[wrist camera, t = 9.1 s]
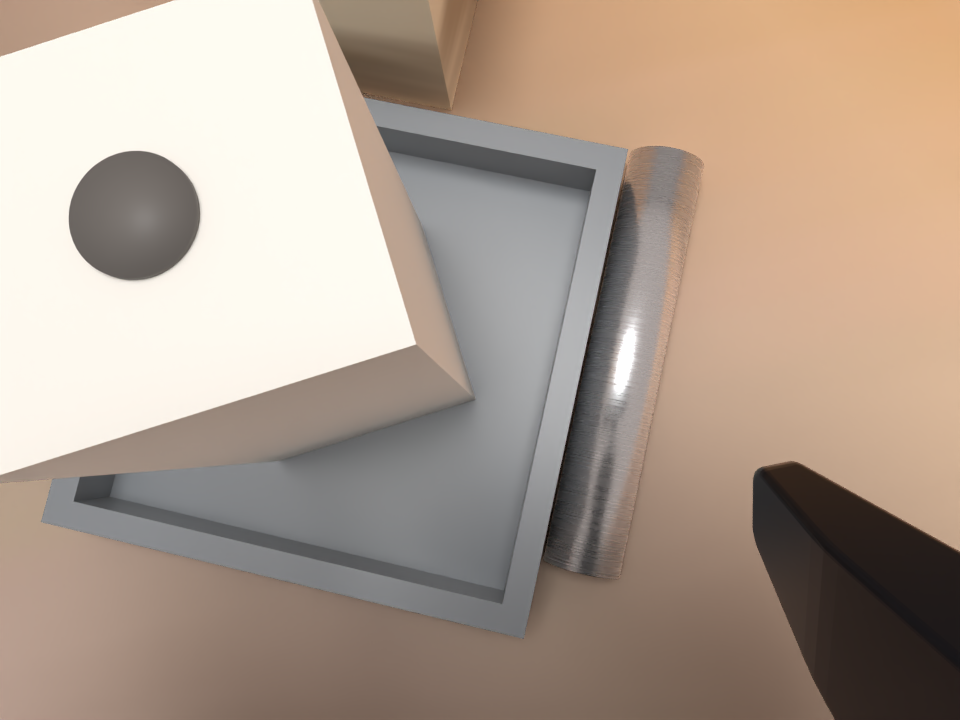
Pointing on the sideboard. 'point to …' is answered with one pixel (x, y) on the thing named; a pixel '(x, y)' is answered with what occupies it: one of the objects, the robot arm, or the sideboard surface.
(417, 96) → the birch block
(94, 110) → the cream block
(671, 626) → the sideboard surface
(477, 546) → the tray
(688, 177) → the cylinder
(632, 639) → the sideboard surface
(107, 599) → the sideboard surface
